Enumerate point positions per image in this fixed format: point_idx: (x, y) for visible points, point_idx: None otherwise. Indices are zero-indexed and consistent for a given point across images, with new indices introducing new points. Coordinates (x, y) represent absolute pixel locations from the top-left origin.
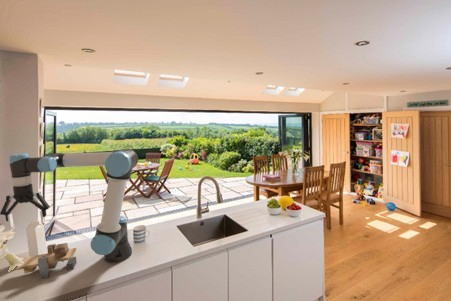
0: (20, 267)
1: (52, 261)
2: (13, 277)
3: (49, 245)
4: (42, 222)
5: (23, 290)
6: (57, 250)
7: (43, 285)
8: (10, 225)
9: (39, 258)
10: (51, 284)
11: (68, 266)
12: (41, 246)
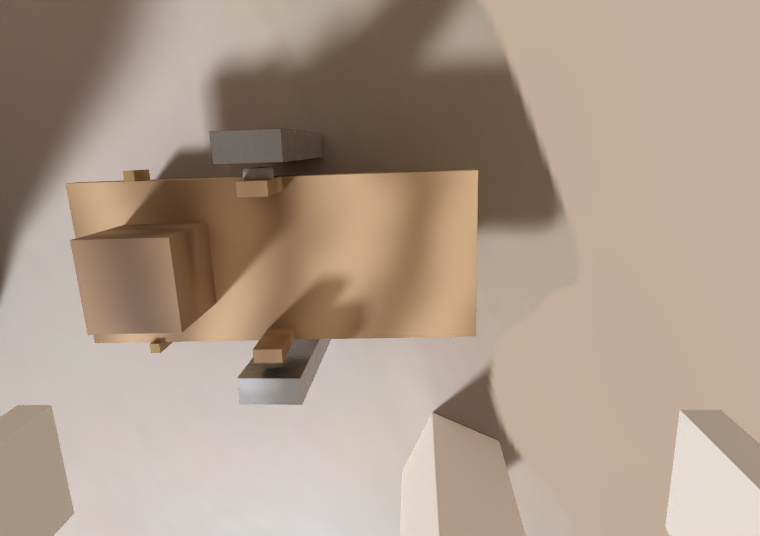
0: (448, 171)
1: (213, 178)
2: (518, 229)
3: (286, 391)
4: (4, 422)
5: (382, 27)
6: (148, 233)
7: (270, 47)
8: (727, 451)
9: (269, 140)
10: (220, 41)
11: None
12: (419, 495)
